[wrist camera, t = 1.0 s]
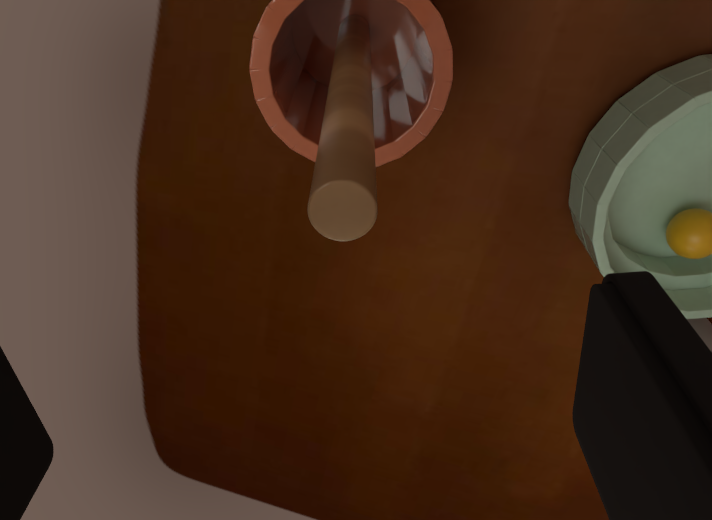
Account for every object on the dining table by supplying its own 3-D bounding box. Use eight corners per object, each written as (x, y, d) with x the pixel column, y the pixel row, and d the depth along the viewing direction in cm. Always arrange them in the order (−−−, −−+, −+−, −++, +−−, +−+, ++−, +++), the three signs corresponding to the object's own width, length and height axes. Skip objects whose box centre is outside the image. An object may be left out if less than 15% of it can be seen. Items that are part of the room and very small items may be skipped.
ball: (662, 201, 35) (685, 226, 33) (713, 197, 35) (740, 221, 32) (653, 244, 37) (674, 270, 34) (702, 240, 37) (727, 266, 34)
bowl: (579, 63, 31) (612, 90, 27) (855, 36, 30) (935, 59, 26) (557, 279, 39) (580, 326, 35) (777, 263, 38) (829, 309, 34)
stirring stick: (337, 16, 30) (302, 183, 13) (368, 12, 30) (374, 176, 13) (340, 48, 31) (312, 244, 14) (371, 45, 30) (380, 239, 14)
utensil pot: (265, -48, 29) (230, -26, 21) (428, -67, 28) (452, -50, 21) (291, 110, 33) (269, 177, 25) (432, 97, 32) (454, 160, 25)
